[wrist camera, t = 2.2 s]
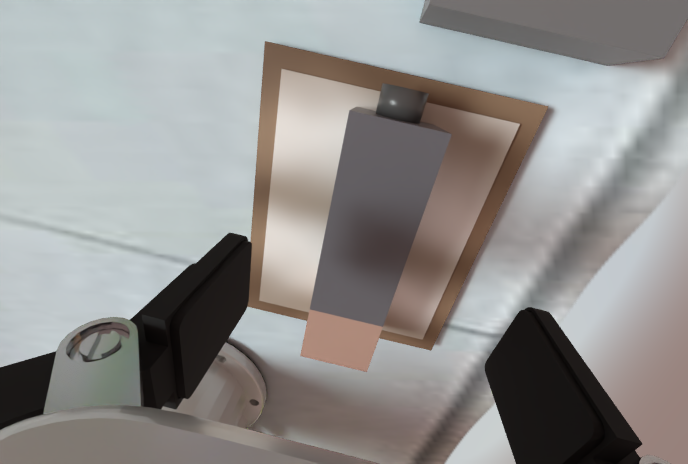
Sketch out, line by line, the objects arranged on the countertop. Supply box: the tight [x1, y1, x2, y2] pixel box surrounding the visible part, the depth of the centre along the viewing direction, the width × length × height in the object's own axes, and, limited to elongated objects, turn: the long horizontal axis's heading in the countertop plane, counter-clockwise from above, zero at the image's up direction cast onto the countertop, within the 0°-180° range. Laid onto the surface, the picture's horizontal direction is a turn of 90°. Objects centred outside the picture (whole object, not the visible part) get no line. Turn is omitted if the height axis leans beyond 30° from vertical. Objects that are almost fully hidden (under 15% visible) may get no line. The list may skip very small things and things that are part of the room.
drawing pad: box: [248, 41, 548, 350], centre depth 18 cm, size 17×14×1 cm
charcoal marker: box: [300, 83, 452, 372], centre depth 16 cm, size 15×4×4 cm, turn 168°
